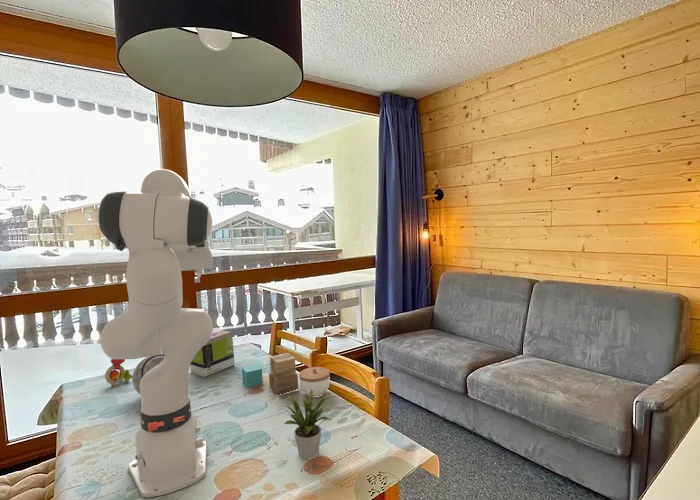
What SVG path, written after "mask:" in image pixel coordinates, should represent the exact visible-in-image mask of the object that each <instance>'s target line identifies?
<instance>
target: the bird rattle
mask: <svg viewBox="0 0 700 500" xmlns="http://www.w3.org/2000/svg"><path fill="white" fill-rule="evenodd" d="M125 361H126V359H111V358H110V363H111V364H112V365H111V366H109V367H108V368H107V370H106V371H105V372H104V379H105V381H106V382H107V383H108V384H110V385H111V386H112V387H115V386H116V385H117V384H119V383H120V382H122V381H124V382H128V383H129V381H130V379H131V380H132V377H133V374H131V373H130V371H129V369H125V367H123V366H122V364H123V363H124V362H125Z"/></svg>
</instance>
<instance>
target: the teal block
mask: <svg viewBox="0 0 700 500" xmlns="http://www.w3.org/2000/svg"><path fill="white" fill-rule="evenodd" d="M241 377H242V378H241V379H242V383H243V384H244V387H245V388H247V389H249V388H253V387H255V386H256V385H257V386H260V384H261V385H263V384H264V381H263V380H264V379H263V378H264V377H263V368H262V367H261V366H260V365H259V364H258V363H256V364H251V365H246V366H241ZM262 383H263V384H262Z"/></svg>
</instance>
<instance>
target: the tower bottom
mask: <svg viewBox="0 0 700 500" xmlns="http://www.w3.org/2000/svg"><path fill="white" fill-rule="evenodd" d="M268 379H269V381H268V382H269V384H268V385H269V389H270V388H271V389H272V390H273V391H274V392H273V391H272V390H271V389H270V390H271V391H272V392H273V393H274V395H275V394H276V395H280V394H284V393H287V392H290V391H293V390H296V389H298V390H299V376H298V373H296V375H292V376H288V377H284V378H280V379H276V378H275V377H274V375H273V374H272V373H271V371H269V372H268ZM276 395H275V396H276ZM284 395H285V394H284ZM280 396H281V395H280Z"/></svg>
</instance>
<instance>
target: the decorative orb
mask: <svg viewBox="0 0 700 500" xmlns="http://www.w3.org/2000/svg"><path fill="white" fill-rule="evenodd" d="M164 358H165V355H162V353H161V355H155V356H149V357H144V358H142V360H141V361H140V362H139V363H138V364H137V365H136V366H135V368H134V370H133V373H132V376H133V377H132V378H131V380H132V386H133V388H134V390H135V392H137V393H138V394H139V395H140V381H141V379H142V377H143V376H144V375H145V374H146V373H147V372H148V371H149V370H151V369H152V368H154V367H155V366H157V365H158V364H160V363H161V362H162V361H163V360H164Z"/></svg>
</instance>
